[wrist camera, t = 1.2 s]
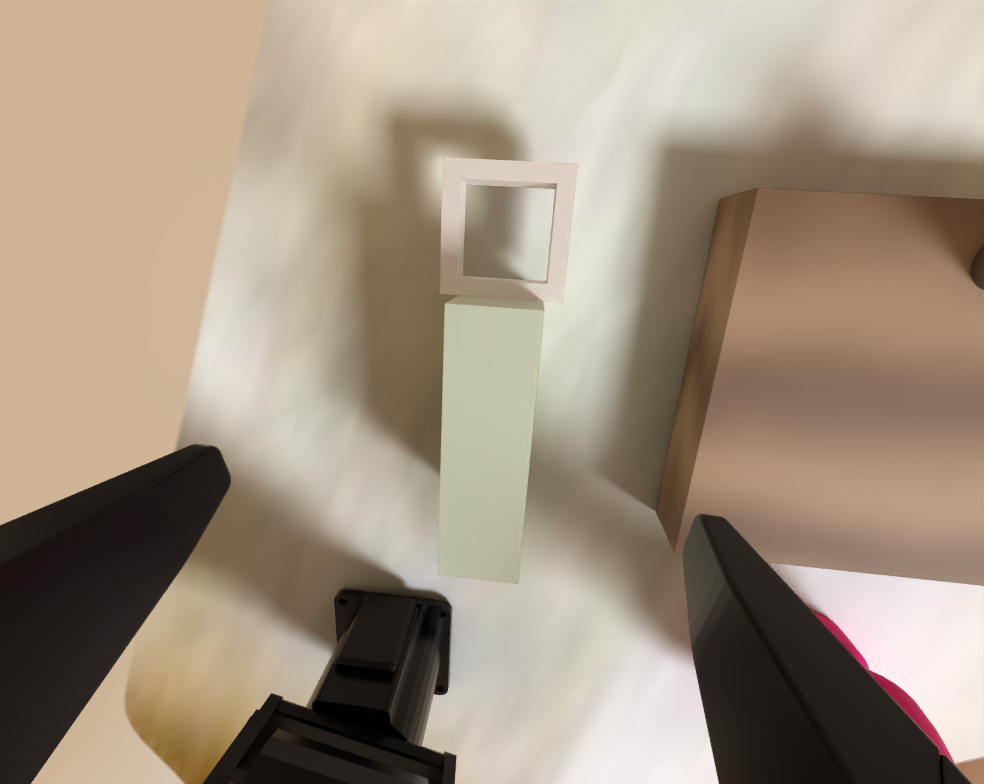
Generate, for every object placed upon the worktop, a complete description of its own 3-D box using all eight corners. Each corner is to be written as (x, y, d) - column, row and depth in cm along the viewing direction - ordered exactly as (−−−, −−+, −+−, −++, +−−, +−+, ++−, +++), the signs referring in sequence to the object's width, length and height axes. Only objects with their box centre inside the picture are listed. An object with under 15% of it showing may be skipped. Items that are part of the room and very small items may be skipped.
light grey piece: (536, 498, 22) (536, 585, 16) (449, 489, 22) (419, 572, 16) (569, 180, 17) (587, 145, 11) (459, 174, 17) (423, 137, 12)
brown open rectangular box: (1009, 548, 20) (1271, 711, 13) (655, 511, 21) (717, 643, 14) (1177, 223, 16) (1712, 199, 9) (720, 199, 17) (858, 159, 10)
